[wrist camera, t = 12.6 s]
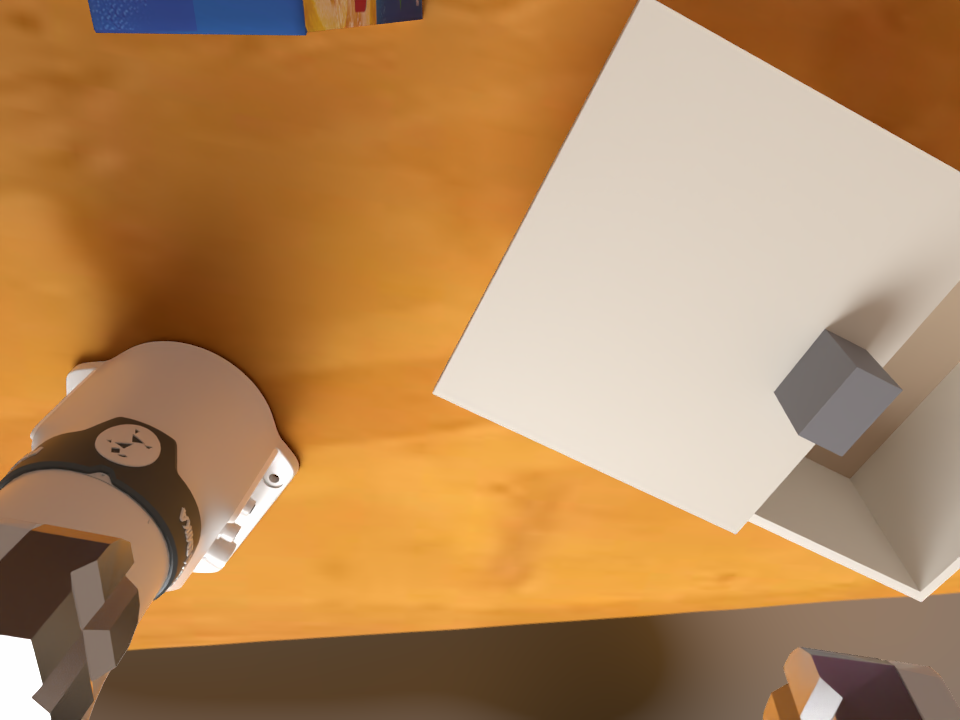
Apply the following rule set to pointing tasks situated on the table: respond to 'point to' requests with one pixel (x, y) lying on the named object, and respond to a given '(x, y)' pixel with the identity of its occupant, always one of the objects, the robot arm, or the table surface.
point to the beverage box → (246, 15)
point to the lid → (708, 276)
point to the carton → (889, 475)
